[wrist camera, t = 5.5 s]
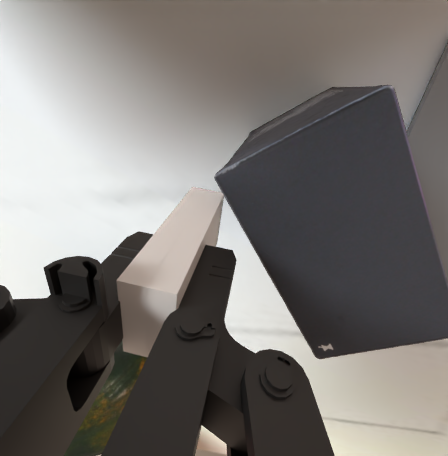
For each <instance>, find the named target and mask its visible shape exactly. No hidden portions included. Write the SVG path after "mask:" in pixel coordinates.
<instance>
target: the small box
mask: <svg viewBox="0 0 448 456" xmlns="http://www.w3.org/2000/svg"><path fill="white" fill-rule="evenodd" d="M214 178H215V181H216V182H217V184H218V186H219V187H220V189H221V191H222V193H223V195H224V196H225V198H226V200H227V202H228V204H229V205H230V207H231V209H232V211H233V212H234V214H235V216H236V218H237V219H238V221H239V223H240V225H241V227H242V228H243V230H244V232H245V234H246V235H247V237H248V239H249V241H250V243H251V244H252V246H253V248H254V250H255V251H256V253H257V255H258V257H259V258H260V260H261V262H262V264H263V266H264V267H265V269H266V271H267V273H268V275H269V276H270V278H271V280H272V281H273V283H274V285H275V287H276V288H277V290H278V292H279V294H280V296H281V297H282V299H283V301H284V302H285V304H286V306H287V308H288V310H289V312H290V313H291V315H292V317H293V318H294V320H295V322H296V324H297V326H298V327H299V329H300V331H301V333H302V334H303V336H304V338H305V340H306V341H307V343H308V345H309V346H310V348H311V350H312V352H313V354H314V355H315V357H316V358H318V359H325V358H330V357H337V356H342V355H348V354H355V353H361V352H367V351H373V350H380V349H386V348H393V347H398V346H404V345H411V344H418V343H424V342H430V341H435V340H442V339H447V338H448V280H447V277H446V273H445V270H444V266H443V263H442V259H441V256H440V252H439V249H438V245H437V242H436V238H435V235H434V231H433V227H432V224H431V220H430V217H429V213H428V210H427V206H426V202H425V199H424V195H423V192H422V188H421V184H420V181H419V177H418V174H417V170H416V166H415V163H414V159H413V155H412V152H411V148H410V144H409V140H408V136H407V133H406V129H405V125H404V121H403V118H402V114H401V110H400V107H399V103H398V99H397V96H396V92H395V89H394V87H392V86H391V85H384V86H382V85H380V86H376V87H375V86H373V87H332V88H330V89H328V90H326V91H324V92H322V93H320V94H319V95H317V96H315V97H313V98H311V99H309V100H307V101H306V102H304V103H302V104H300V105H298V106H297V107H295V108H293V109H291V110H289V111H288V112H286V113H284V114H282V115H280V116H279V117H277V118H275V119H273V120H272V121H270V122H268V123H266V124H264V125H262V126H261V127H259V128H257V129H255V130H253V131H252V132H250V134H249V136H248V138H247V139H246V140H245V141H244V143H243V144H242V145H241V146H240V148H239V149H238V150H237V151H236V153H235V154H234V155H233V157H232V158H231V159H230V161H229V162H228V163H227V164H226V165H225V166H224V167H223V168H222V169H221V170H220V171H219V172H217V173H216V175H215V177H214Z"/></svg>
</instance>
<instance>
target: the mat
mask: <svg viewBox="0 0 448 456" xmlns="http://www.w3.org/2000/svg"><path fill="white" fill-rule="evenodd" d="M407 136H408V140H409V144H410V148H411V152H412V155H413V159H414V163H415V166H416V170H417V174H418V177H419V181H420V184H421V188H422V192H423V195H424V199H425V202H426V206H427V210H428V213H429V217H430V220H431V224H432V227H433V231H434V235H435V238H436V242H437V245H438V249H439V252H440V256H441V259H442V263H443V266H444V270H445V273H446V277H447V280H448V43H447V45H446V48H445V50H444V52H443V54H442V56H441V59H440V61H439V63H438V65H437V67H436V69H435V72H434V74H433V76H432V78H431V80H430V83H429V85H428V87H427V89H426V91H425V93H424V96H423V98H422V100H421V102H420V104H419V107H418V109H417V111H416V113H415V115H414V118H413V120H412V122H411V124H410V126H409V128H408V131H407Z"/></svg>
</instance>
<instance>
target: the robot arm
mask: <svg viewBox="0 0 448 456" xmlns="http://www.w3.org/2000/svg"><path fill="white" fill-rule="evenodd" d="M223 199H224V195H223V193H222V192H217V191H212V190H207V189H202V188H196V187H192V188H191V189H190V190H189V191H188V193H187V194H186V195H185V196H184V198H183V199H182V200H181V201H180V203H179V204H178V205H177V206H176V208H175V209H174V210H173V211H172V212H171V214H170V215H169V216H168V217H167V219H166V220H165V221H164V222H163V224H162V225H161V226H160V227H159V229H158V230H157V231H156V232H155V233H154V235H153V234H148V233H144V232H137V233H135V234H133V235H131V236H129V237H127V238H126V239H125V240H124V241H123V242H122V243H121V244H120V245H119V246H118V248H116V249H115V250H114V251H113V252H112V254H111V255H109V256H108V257H107V258H106V259H105V260H104V261H103V262H102V263H101V264H100V263H99V262H98V260H95V259H93V258H90V257H83V256H75V257H67V258H63V259H60V260H57V261H54V262H52V263H51V264H49V265H47V266H46V267H44V271H45V275H46V279H47V282H48V286H49V289H50V293H51V295H50V296H49V297H48V298H42V299H12V296H11V294H10V292H9V290H8V289H7V288H6V287H5V286H1V285H0V456H64V454H65V452H66V451H67V449H68V447H69V445H70V444H71V442H72V440H73V438H74V436H75V435H76V433H77V431H78V429H79V428H80V426H81V424H82V422H83V421H84V419H85V417H86V415H87V414H88V412H89V410H90V408H91V407H92V405H93V403H94V401H95V399H96V398H97V396H98V394H99V392H100V391H101V389H102V387H103V385H104V384H105V382H106V380H107V378H108V377H109V375H110V373H111V371H112V369H113V366H114V363H115V361H114V352H115V351H116V349H117V347H118V346H119V344H120V342H121V341H122V343H123V351H124V352H128V353H132V354H136V355H140V356H144V357H147V359H146V361H145V363H144V366H143V368H142V370H141V372H140V374H139V376H138V378H137V380H136V383H135V385H134V387H133V389H132V391H131V393H130V395H129V397H128V400H127V402H126V404H125V406H124V408H123V410H122V412H121V414H120V417H119V419H118V421H117V423H116V425H115V427H114V429H113V431H112V434H111V436H110V438H109V440H108V442H107V444H106V446H105V448H104V451H103V453H102V455H101V456H195V453H196V448H197V444H198V439H199V434H200V430H201V425H203V426H204V427H205V428H206V429H208V430H209V431H210V432H212V433H213V434H214V435H216V436H217V437H218V438H219V439H221V440H222V441H223V442H225V443H226V444H227V456H334V453H333V450H332V447H331V444H330V441H329V438H328V435H327V432H326V429H325V426H324V423H323V420H322V417H321V414H320V412H319V409H318V406H317V403H316V400H315V397H314V394H313V391H312V388H311V385H310V382H309V379H308V378H307V376H306V374H305V372H304V370H303V368H302V367H301V366H300V365H299V364H298V363H297V362H296V361H295V360H294V359H293V358H292V357H291V356H289V355H287V354H285V353H283V352H282V351H277V350H272V349H268V350H262V351H259V352H257V353H256V354H255V353H254V352H252V351H250V350H248V349H247V348H245V347H243V346H242V345H240V344H239V343H238V342H236V341H235V340H234V339H233V338H232V337H231V336H230V334H229V333H228V331H227V329H226V326H225V322H224V318H225V313H226V308H227V304H228V299H229V294H230V290H231V285H232V280H233V275H234V270H235V265H236V258H235V255H234V253H233V250H228V249H224V248H219V247H216V244H217V240H218V233H219V226H220V219H221V212H222V206H223Z"/></svg>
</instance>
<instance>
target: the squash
mask: <svg viewBox="0 0 448 456" xmlns="http://www.w3.org/2000/svg"><path fill="white" fill-rule="evenodd" d="M146 359H147V357H144V356H140V355H136V354H132V353H128V352H124V351H123V343H122V341H121V342H120V344H119V346H118V347H117V349H116V351H115V352H114V361H115V363H114V366H113V369H112V371H111V373H110V375H109V377H108V378H107V380H106V382H105V384H104V385H103V387H102V389H101V391H100V392H99V394H98V396H97V398H96V399H95V401H94V403H93V405H92V407H91V408H90V410H89V412H88V414H87V415H86V417H85V419H84V421H83V422H82V424H81V426H80V428H79V429H78V431H77V433H76V435H75V436H74V438H73V440H72V442H71V444H70V445H69V447H68V449H67V451H66V452H65V454H64V456H96V455H100V454H102V453H103V451H104V448H105V446H106V444H107V442H108V440H109V438H110V436H111V434H112V431H113V429H114V427H115V425H116V423H117V421H118V419H119V417H120V414H121V412H122V410H123V408H124V406H125V404H126V402H127V400H128V397H129V395H130V393H131V391H132V389H133V387H134V385H135V383H136V380H137V378H138V376H139V374H140V372H141V370H142V368H143V366H144V363H145V361H146Z"/></svg>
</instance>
